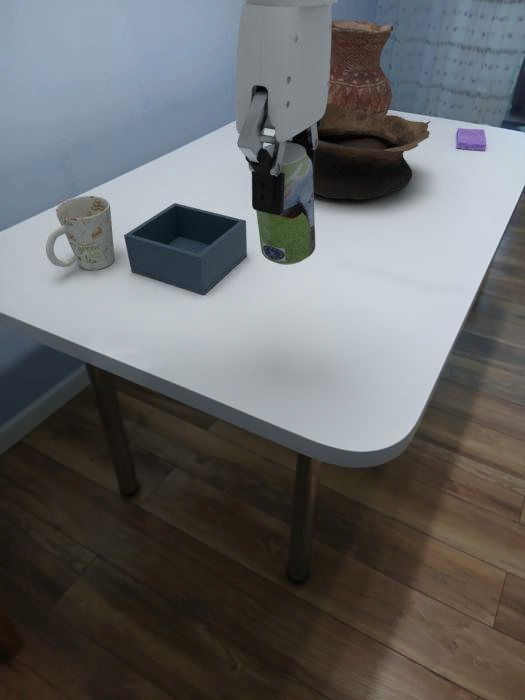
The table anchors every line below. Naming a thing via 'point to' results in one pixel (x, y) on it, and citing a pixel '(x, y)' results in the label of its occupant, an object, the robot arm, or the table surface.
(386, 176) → the bowl
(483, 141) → the sponge
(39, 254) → the table surface
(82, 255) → the mug
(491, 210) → the table surface
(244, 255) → the bin
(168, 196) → the table surface
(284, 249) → the beverage can
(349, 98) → the jug
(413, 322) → the table surface
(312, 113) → the robot arm
